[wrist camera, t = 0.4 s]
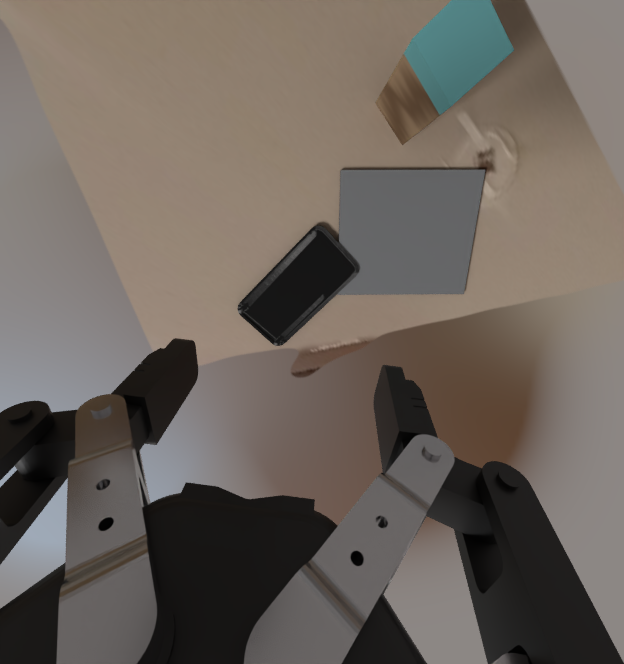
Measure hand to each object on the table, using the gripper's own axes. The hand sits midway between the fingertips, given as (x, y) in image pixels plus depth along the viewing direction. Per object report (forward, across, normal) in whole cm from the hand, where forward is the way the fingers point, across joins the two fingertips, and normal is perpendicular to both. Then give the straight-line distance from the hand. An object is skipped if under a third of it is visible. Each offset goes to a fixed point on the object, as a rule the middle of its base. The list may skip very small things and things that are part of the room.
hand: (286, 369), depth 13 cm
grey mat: (+28, -10, -1) cm, 29 cm away
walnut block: (+30, -8, -13) cm, 34 cm away
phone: (+26, +2, +7) cm, 27 cm away
